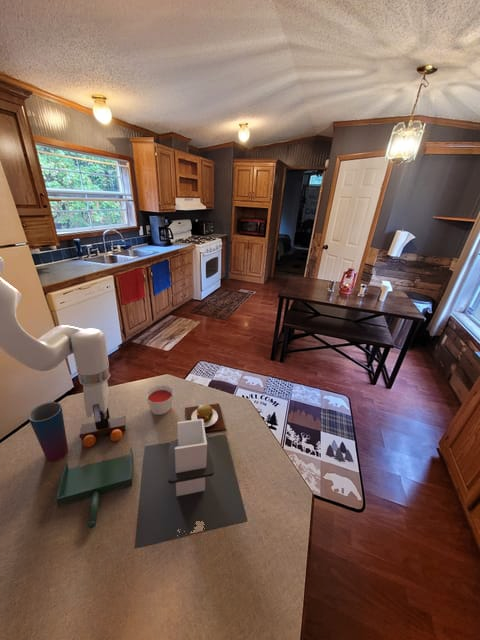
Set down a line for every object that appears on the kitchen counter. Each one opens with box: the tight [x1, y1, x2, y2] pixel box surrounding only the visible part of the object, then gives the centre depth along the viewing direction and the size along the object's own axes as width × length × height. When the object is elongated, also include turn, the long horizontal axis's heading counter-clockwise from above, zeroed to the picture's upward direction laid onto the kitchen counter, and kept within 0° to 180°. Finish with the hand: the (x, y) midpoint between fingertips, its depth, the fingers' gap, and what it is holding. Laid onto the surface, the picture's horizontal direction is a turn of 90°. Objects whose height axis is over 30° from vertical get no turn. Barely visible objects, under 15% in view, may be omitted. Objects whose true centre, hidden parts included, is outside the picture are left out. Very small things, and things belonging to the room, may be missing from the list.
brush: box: [79, 412, 127, 441], centre depth 76 cm, size 4×12×8 cm, turn 111°
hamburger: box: [184, 403, 227, 434], centre depth 84 cm, size 12×12×6 cm
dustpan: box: [55, 447, 134, 530], centre depth 61 cm, size 17×16×3 cm
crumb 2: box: [109, 429, 123, 442], centre depth 75 cm, size 3×3×3 cm
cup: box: [27, 401, 69, 462], centre depth 67 cm, size 7×7×15 cm
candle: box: [145, 384, 175, 416], centre depth 87 cm, size 9×9×6 cm
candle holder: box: [134, 419, 248, 549], centre depth 63 cm, size 25×24×16 cm
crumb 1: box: [82, 435, 97, 448], centre depth 72 cm, size 3×3×3 cm
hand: (103, 423), depth 76 cm, fingers closed on brush, 2 cm apart
